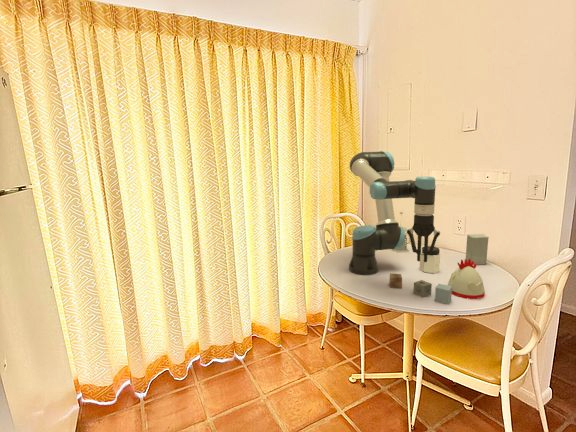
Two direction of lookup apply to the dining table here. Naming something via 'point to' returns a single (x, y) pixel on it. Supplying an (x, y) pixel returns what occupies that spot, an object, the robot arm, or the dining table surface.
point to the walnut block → (395, 280)
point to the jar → (432, 261)
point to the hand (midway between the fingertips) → (421, 268)
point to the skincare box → (477, 248)
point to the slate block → (443, 293)
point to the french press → (403, 248)
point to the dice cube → (422, 288)
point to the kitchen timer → (467, 281)
